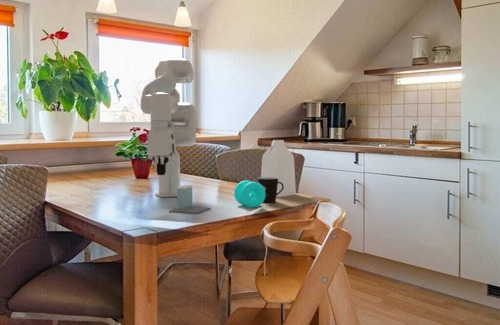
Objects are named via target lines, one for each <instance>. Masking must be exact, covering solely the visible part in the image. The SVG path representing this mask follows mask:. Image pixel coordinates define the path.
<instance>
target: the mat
mask: <svg viewBox="0 0 500 325" xmlns="http://www.w3.org/2000/svg"><path fill="white" fill-rule="evenodd" d="M209 210H211V207H208V206H206V207H205V206H191V207H188V208H185V209H182V208H177V207H176V208H174V209H170V210H169V211H168V213H175V214H177V213H179V214H193V215H194V214H195V215H197V214H201V213H203V212H207V211H209Z"/></svg>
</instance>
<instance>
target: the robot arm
mask: <svg viewBox="0 0 500 325" xmlns="http://www.w3.org/2000/svg"><path fill="white" fill-rule="evenodd" d="M194 73H195V72H194V68H193V64H192V63H191V61H190V60H188V59H185V58H164V59H161V60H160V61H159V62H158V64H157V66H156V68H155V69H154V77H155V79H153V80H152V81H150V82H149V83H147V84H146V85H145V86H144V87H143V89H142V93H141V98H140V110H141V111H142V113H143V114H146V115H150V129H149V131H148V135H147V143H146V144H147V146H146V147H147V149H146V151H147V155H148V156H147V159H148V160H151V161H153V162H154V163H155V165H156V173H157V175H156V176H158V192H155V193H154V195H155V197H163V198H172V197H173V198H177V187H179V186H183V185H181V157H180V154H179V152H178V151H177V147H191V146H193V145H194V144H195V143H196V141H197V140H196V139H197V112H196V110H197V109H196V107H195V105H194V104H193V103H190V102H180V101H181V100H180V98H181V96H180V92H179V91H178V90H177V89H176V88H177V84H191V83H192V82H193V80H194Z"/></svg>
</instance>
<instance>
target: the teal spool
mask: <svg viewBox="0 0 500 325" xmlns="http://www.w3.org/2000/svg"><path fill="white" fill-rule="evenodd" d="M233 193H234V194H233V196H234V199H235V200H236V203H238V204H240V205H242V206H246V207H248V208H251V209H254V208H258V207H260V206H261V205H262V204H263V201H264V199H265V190H264V188H263V186H262V185H261V184H259V183H258V181H257V182H256V181H251V180H247V179H246V180H242V181H240V182H239V183H238V184H236V186H235V188H234V191H233Z"/></svg>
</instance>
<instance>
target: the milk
mask: <svg viewBox="0 0 500 325" xmlns="http://www.w3.org/2000/svg"><path fill="white" fill-rule="evenodd" d="M260 170H261V171H260V172H261V174H260V178H262V177H273V178H278V182H281V183H283V186H284V188H283V190H282V191H281V189H282V185H281V184H280V183H278V186H277V193H278V192H279V191H281V192H280V193H279V194H278V195H276V198H283V197H288V196H294V195H297V190H296V188H297V187H296V173H295V172H296V171H295V170H296V169H295V156H294V155H293V153H292V152H291V151H290V150H289V148H288V147H286V145H285V140H284V139H273V140H272V141H271V144H270V146H269V148H268V149H267V150H266V151H265V152H264V153H263V155H262V156H261V169H260ZM282 196H283V197H282Z"/></svg>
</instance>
